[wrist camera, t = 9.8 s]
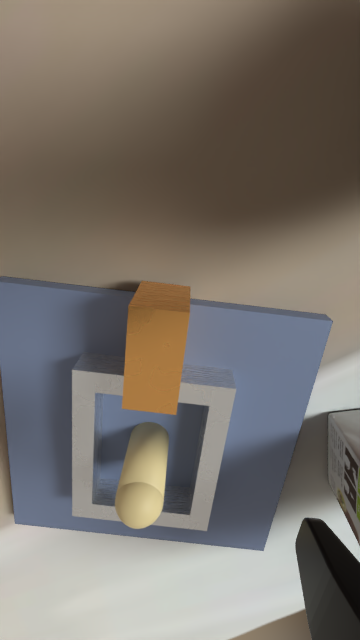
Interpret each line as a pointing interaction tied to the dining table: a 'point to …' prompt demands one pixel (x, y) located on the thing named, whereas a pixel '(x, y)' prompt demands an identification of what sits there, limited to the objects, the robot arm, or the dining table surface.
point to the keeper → (148, 427)
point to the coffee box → (345, 464)
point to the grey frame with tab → (150, 406)
